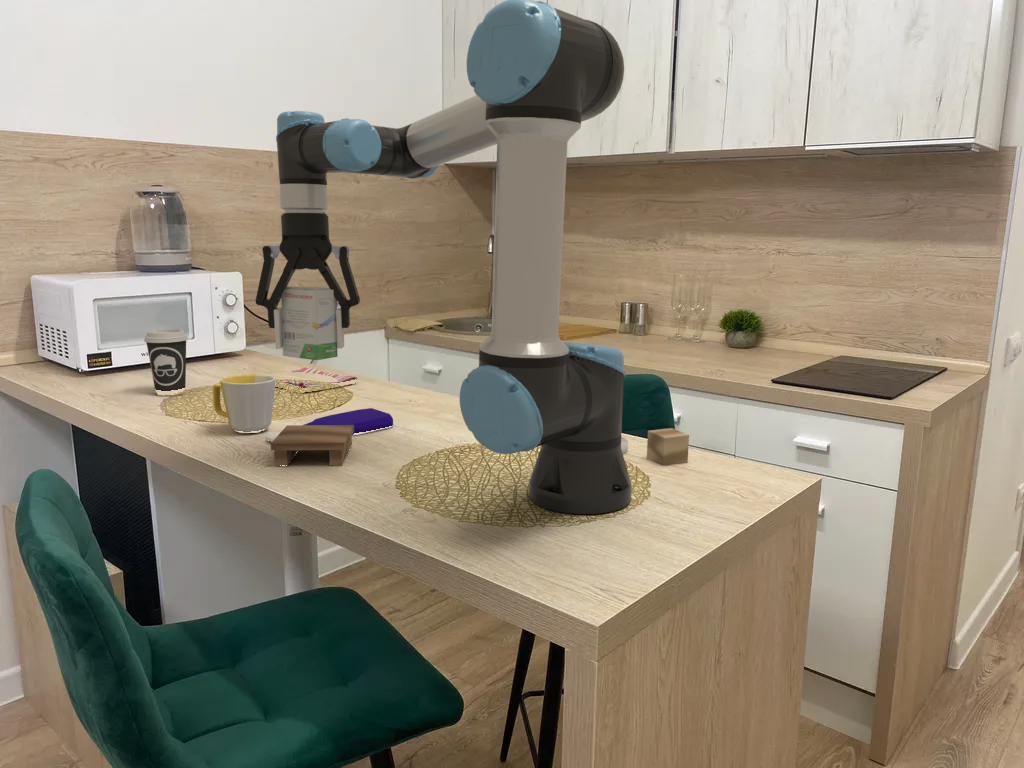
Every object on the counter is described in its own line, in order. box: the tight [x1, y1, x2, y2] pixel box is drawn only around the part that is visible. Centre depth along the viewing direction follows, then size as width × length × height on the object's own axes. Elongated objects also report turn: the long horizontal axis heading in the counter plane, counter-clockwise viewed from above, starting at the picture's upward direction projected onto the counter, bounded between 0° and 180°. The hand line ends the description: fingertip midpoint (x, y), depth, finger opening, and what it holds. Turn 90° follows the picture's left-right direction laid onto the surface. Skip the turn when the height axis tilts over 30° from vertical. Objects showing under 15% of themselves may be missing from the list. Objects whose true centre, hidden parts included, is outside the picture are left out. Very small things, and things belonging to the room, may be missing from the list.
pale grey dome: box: [621, 436, 629, 456], centre depth 139 cm, size 9×9×2 cm
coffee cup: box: [143, 328, 189, 391], centre depth 182 cm, size 10×10×15 cm
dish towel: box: [277, 367, 358, 388], centre depth 197 cm, size 17×23×4 cm
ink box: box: [281, 285, 339, 361], centre depth 129 cm, size 9×5×12 cm, turn 58°
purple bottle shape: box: [266, 407, 394, 443], centre depth 149 cm, size 3×11×24 cm
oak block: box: [646, 427, 690, 467], centre depth 132 cm, size 5×5×5 cm
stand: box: [270, 424, 354, 467], centre depth 133 cm, size 12×12×4 cm
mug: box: [212, 373, 276, 432], centre depth 150 cm, size 14×10×10 cm
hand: (310, 347), depth 130 cm, fingers closed on ink box, 9 cm apart
